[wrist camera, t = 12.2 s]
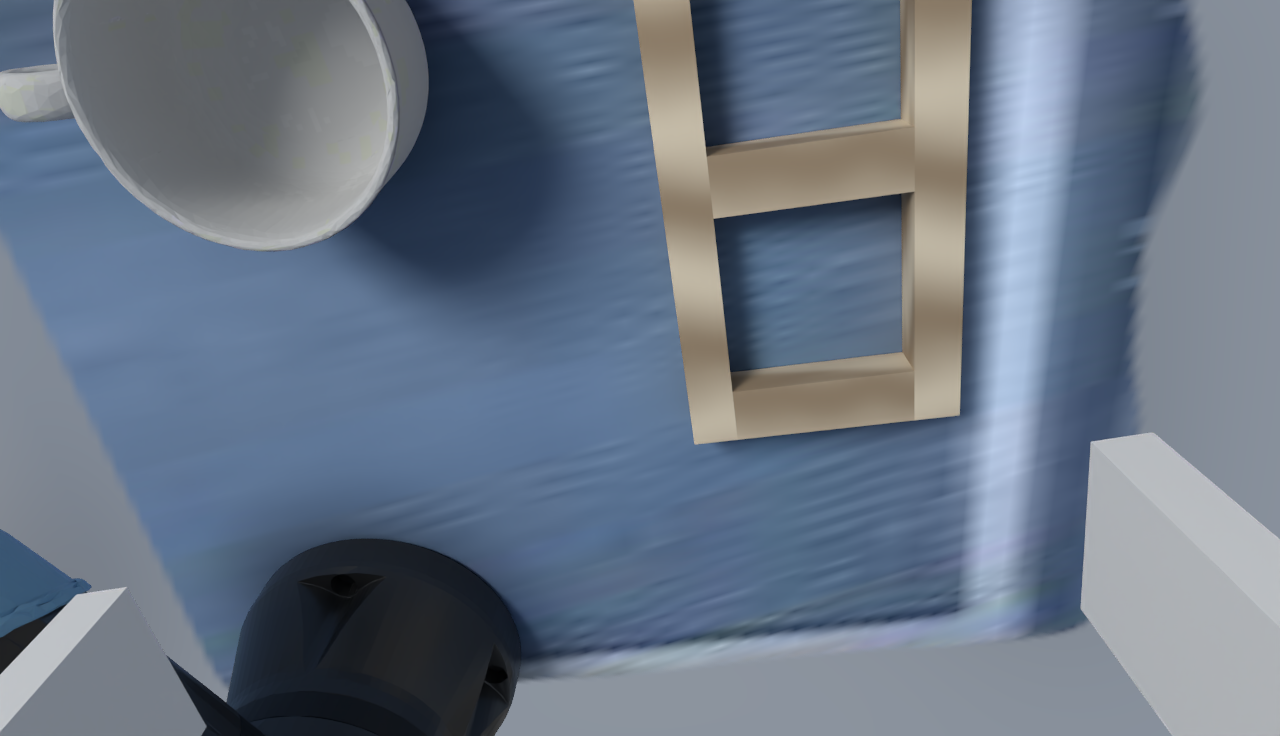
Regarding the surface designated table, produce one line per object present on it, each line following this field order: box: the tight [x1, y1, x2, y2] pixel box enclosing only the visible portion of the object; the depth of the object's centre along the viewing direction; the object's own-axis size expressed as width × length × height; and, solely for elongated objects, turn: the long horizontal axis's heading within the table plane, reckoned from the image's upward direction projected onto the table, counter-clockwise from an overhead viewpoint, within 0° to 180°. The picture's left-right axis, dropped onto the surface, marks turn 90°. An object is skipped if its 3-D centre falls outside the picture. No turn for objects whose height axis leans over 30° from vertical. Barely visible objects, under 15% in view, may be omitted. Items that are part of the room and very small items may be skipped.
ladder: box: [634, 0, 972, 444], centre depth 30 cm, size 34×12×2 cm, turn 8°
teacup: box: [0, 0, 429, 251], centre depth 29 cm, size 14×11×8 cm
